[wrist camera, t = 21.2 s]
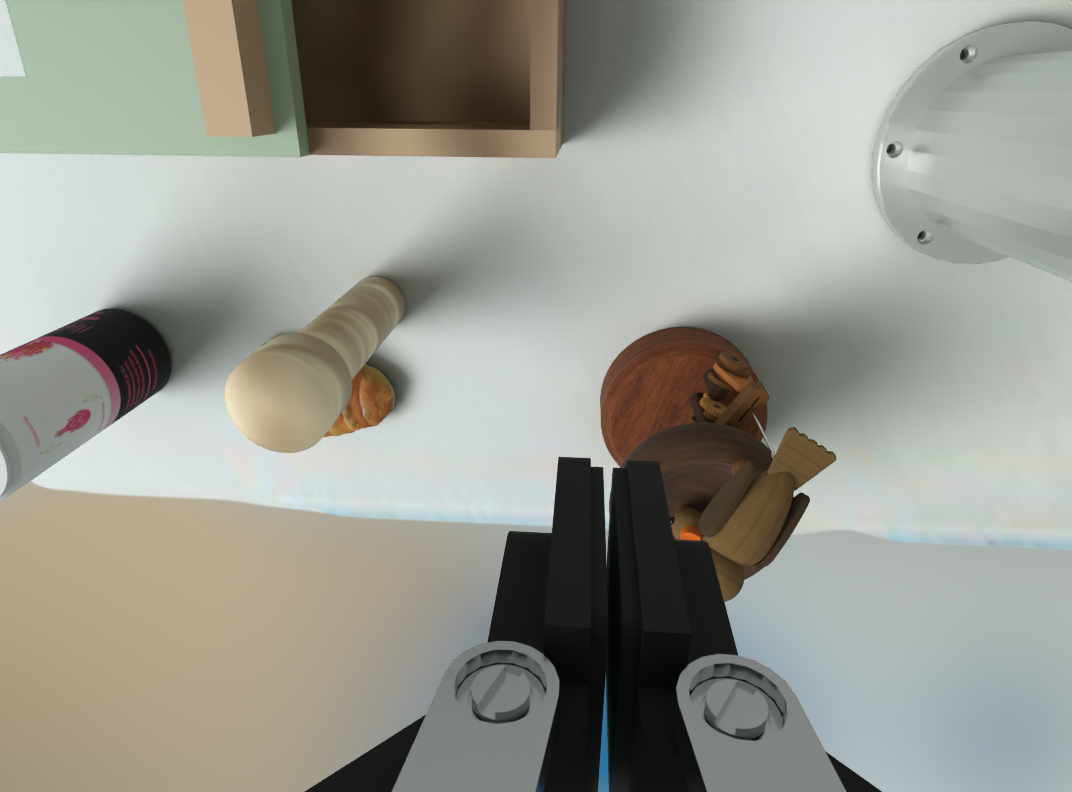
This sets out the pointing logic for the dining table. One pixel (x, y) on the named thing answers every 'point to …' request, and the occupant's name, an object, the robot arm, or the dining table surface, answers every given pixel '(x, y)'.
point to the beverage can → (74, 388)
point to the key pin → (311, 369)
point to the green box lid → (154, 79)
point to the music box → (709, 446)
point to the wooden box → (432, 77)
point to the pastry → (365, 402)
